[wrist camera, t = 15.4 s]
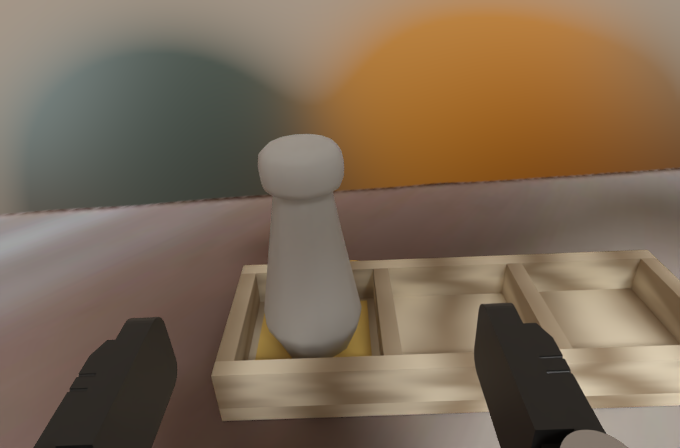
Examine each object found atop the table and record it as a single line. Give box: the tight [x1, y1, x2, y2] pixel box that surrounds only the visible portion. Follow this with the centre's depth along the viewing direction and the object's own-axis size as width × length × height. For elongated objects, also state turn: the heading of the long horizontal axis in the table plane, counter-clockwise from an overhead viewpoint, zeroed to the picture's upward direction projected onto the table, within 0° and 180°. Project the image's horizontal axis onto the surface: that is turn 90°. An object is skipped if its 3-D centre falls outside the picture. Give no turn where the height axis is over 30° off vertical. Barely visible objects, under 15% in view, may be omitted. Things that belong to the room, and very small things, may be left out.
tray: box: [211, 250, 680, 421], centre depth 30 cm, size 28×10×4 cm, turn 90°
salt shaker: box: [258, 134, 362, 359], centre depth 26 cm, size 6×6×13 cm
